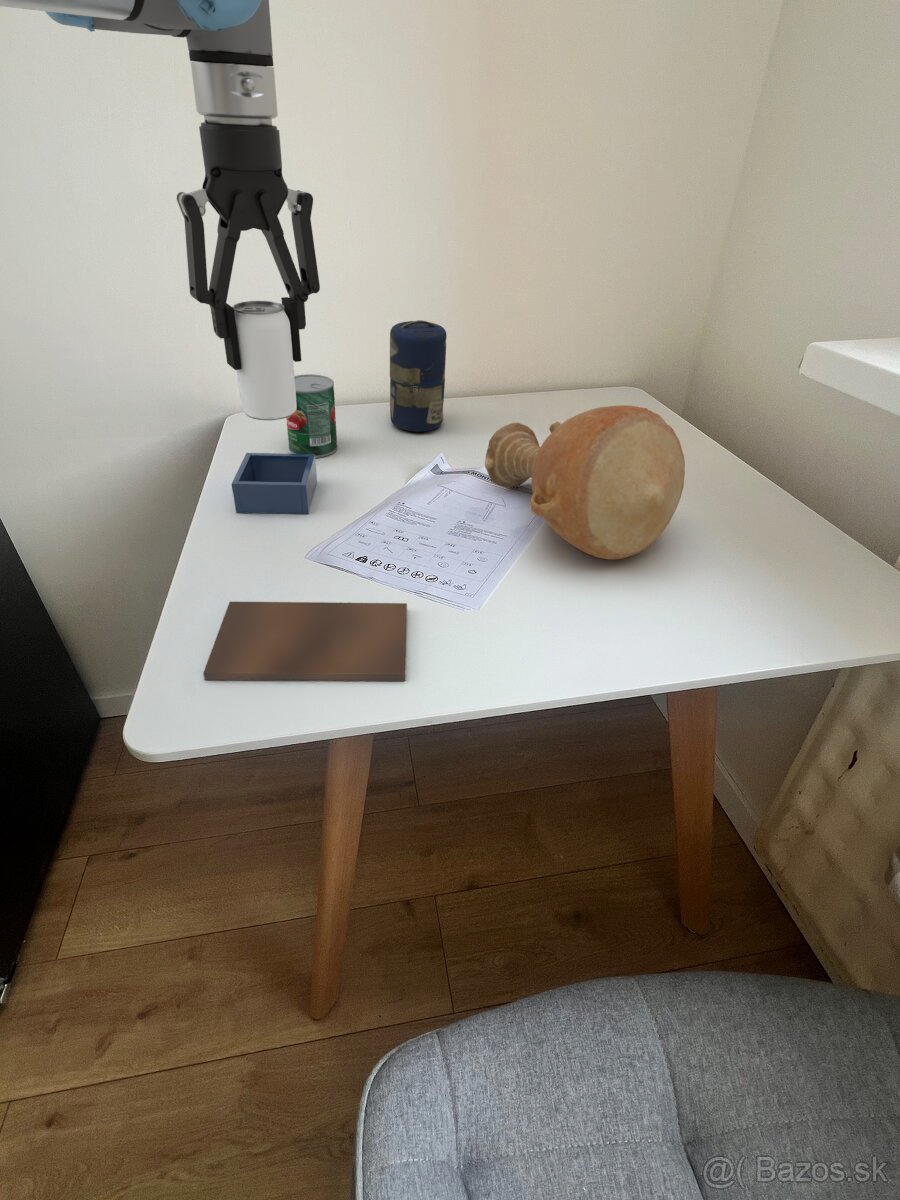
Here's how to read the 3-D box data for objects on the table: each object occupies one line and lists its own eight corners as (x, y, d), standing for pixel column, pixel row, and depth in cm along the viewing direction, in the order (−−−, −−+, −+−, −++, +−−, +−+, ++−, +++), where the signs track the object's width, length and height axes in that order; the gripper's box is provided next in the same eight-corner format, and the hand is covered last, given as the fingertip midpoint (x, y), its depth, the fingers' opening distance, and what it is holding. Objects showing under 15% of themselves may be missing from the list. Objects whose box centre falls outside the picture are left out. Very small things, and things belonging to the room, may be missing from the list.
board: (204, 680, 70) (203, 672, 69) (230, 608, 79) (229, 601, 79) (405, 681, 71) (405, 674, 70) (406, 610, 80) (406, 603, 80)
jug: (579, 519, 75) (427, 449, 96) (637, 607, 88) (493, 528, 109) (693, 382, 76) (519, 343, 98) (734, 489, 89) (572, 434, 111)
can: (294, 422, 82) (285, 314, 75) (238, 421, 81) (223, 313, 74) (299, 402, 87) (291, 300, 80) (246, 401, 86) (233, 298, 79)
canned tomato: (278, 449, 114) (271, 383, 107) (312, 434, 119) (306, 370, 113) (315, 463, 111) (309, 395, 104) (347, 446, 116) (344, 381, 109)
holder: (236, 513, 97) (231, 483, 94) (250, 480, 105) (246, 452, 102) (308, 514, 97) (306, 485, 95) (317, 481, 105) (314, 454, 103)
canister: (389, 414, 128) (388, 312, 117) (440, 414, 129) (444, 312, 118) (391, 435, 120) (390, 327, 110) (446, 435, 121) (450, 328, 111)
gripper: (143, 119, 60) (189, 384, 74) (347, 126, 69) (355, 360, 83) (123, 115, 65) (169, 363, 79) (316, 122, 74) (328, 343, 88)
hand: (264, 361), depth 81 cm, fingers closed on can, 6 cm apart
